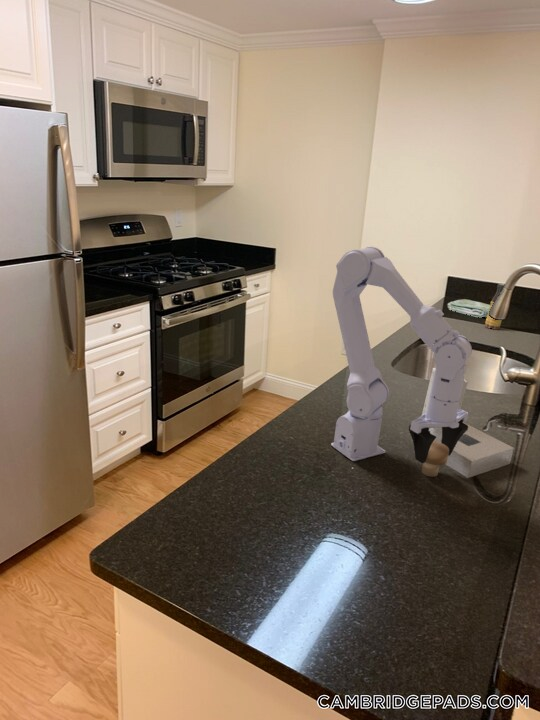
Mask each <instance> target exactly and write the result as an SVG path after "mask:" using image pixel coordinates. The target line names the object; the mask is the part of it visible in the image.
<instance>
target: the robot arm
mask: <svg viewBox="0 0 540 720" xmlns="http://www.w3.org/2000/svg"><path fill="white" fill-rule="evenodd" d="M335 266H336V276H335V279H334V284H333V288H332V297H333V301H334V302H333V303H334V306H335V312H336V316H337V320H338V323H339V329H340V333H341V338H342V342H343V345H344V346H343V347H344V350H345V356H346V361H347V365H348V368H349V372H350V373H349V375H348V376H349V377H348V379H347V383H346V388H347V397H346V406H347V408H348V411H347V412H346V413H345V414H344V415H341V416H339V417H338V418H337V420H336V423H335V430H334V437H333V442H331V443H330V445H331V446H332V447H333V448H334V449H336V450H337V451H338V452H339V453H341V454H342V455H343V456H345V457H347V458H348V459H349V460H351V462H357V461H359V460H364V459H367V458H370V457H371V458H372V457H375V456H378V455H382V454H385V453H386V450H385V449H383V447H381V446H379V445H378V444H379V441H380V440H379V439H380V432H381V426H382V421H383V420H382V419H383V414H384V412H383V405H384V404H385V403H386V402H387V401H388V399H389V398H390V391H389V387H388V385H387V384H386V383H385V381H384V380H383V377H382V373H381V372H380V370H379V369H378V368H377V367H376V365H375V362H374V358H373V357H374V356H373V353H372V348H371V344H370V339H369V334H368V329H367V325H366V320H365V315H364V311H363V308H362V307H363V306H362V302H361V298H360V296H361V294H362V293H363V291H364V290H365V288H366V287H367V286H368V285H369V286H373V287H379V288H383V289H384V291H386V293H387V294H389V296H391V298H392V299H394V301H395V302H396V303H397V304H398V305H399V306H400V307H401V308H402V309H403V310H404V311H405V312H406V314H408V316H409V317H410V318H409V319H410V322H409V323H410V327H411V329H412V330H413V331H414V332H415V333H416V334H417V335H418V336H419V338H420V339H421V340H422V341H423V343H424V344H425V345H426V346H427V347H428V348H429V350H430V351H431V352H433V361H434V364H435V368H436V369H435V372H434V376H433V381H432V387H431V392H430V397H429V402H428V408H427V412H426V413H425V414H423V415H422V414H421V415H420V416H419V417H418V418H416V419H413V420H411V424H409V426H408V431H409V433H410V436H411V439H412V443H413V448H414V449H413V450H414V459H415V460H417V461H418V462H419V463H421V464H423V463H425V461H426V459H427V456H428V452H429V449H430V447H431V444H432V443H433V441H434V440H435V438H436V436H434V435H432V434H430V431H429V428H433V427H442V440H441V443H442V444H444V445H446V446H447V447H448V448H449V454H448V456H449V455H451V453H452V451H453V449H454V447H455V445H456V444H457V442H458V440H459V439H460V437H461V436H462V435H463V434H464V433H465V432H466V431H467V430H468V425H469V424H468V425H466V424H467V423H466V422H467V421H468V417H469V412H468V411H466V410H463V409H462V408H461V409H460V410H458V406H459V401H460V396H461V392H462V387H463V382H464V380H465V375H466V366H467V365H466V363H467V362H468V361H469V359H470V358H471V356H472V351H473V348H472V345H471V343H470V341H469V339H468V337H466V336H464V335H462V334H461V335H460V332H459V331H458V330H456V329H453V328H452V326H451V325H450V324H449V323H448V321H446V320H445V318H444V317H443V316H444V315H445V313H444V312H443V311H442V310H441V309H438V310H437V309H436V308H435V307H434V306H430V305H429V306H428V305H425V304H423V302H422V301H421V300H420V298H419V297H418V295H417V294H416V293H415V292H414V290H413V289H412V288H411V287H410V285H409V284H408V283H407V282H406V280H405V279H404V278H403V276H402V275H401V274H400V272H399V271H398V270H397V269H396V267H395V265H394V264H393V262H392V261H391V259H390V258H388V257H387V256H385V255H384V253H383V251H382V250H381V249H379V248H377V247H375V246H367V247H365V248H361V249H350V250H348V251H347V252H344V254H343V255H342V257H341V258H340V259H339V261H338V262H337V263H336V265H335ZM463 422H464V423H466V424H464V423H463Z"/></svg>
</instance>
